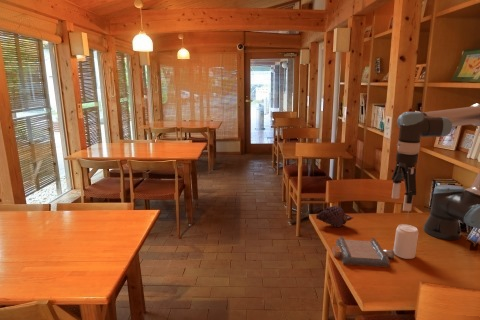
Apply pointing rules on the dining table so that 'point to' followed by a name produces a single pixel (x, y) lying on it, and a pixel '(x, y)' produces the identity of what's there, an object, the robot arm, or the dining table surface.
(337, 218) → the pine cone
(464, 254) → the dining table surface
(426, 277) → the dining table surface
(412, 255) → the beverage can
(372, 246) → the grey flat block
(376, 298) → the dining table surface
